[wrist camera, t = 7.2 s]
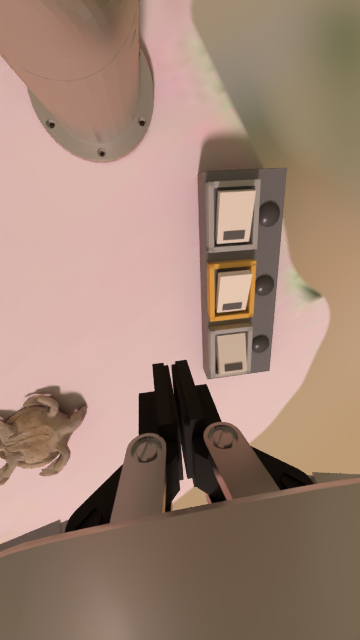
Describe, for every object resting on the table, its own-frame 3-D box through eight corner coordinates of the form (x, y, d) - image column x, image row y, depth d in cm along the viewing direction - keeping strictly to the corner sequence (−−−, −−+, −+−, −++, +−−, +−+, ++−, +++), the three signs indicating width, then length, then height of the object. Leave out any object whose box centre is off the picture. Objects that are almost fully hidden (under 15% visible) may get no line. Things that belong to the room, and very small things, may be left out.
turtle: (27, 441, 47) (21, 503, 40) (-30, 430, 40) (-50, 501, 33) (88, 391, 44) (93, 447, 37) (37, 371, 38) (32, 433, 31)
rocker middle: (218, 272, 32) (220, 277, 31) (249, 269, 32) (252, 274, 31) (214, 308, 35) (217, 313, 35) (242, 305, 36) (245, 310, 35)
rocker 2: (215, 334, 37) (217, 336, 36) (242, 331, 37) (245, 333, 36) (218, 372, 37) (220, 375, 36) (244, 368, 38) (247, 371, 37)
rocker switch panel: (197, 175, 32) (206, 169, 28) (274, 171, 33) (293, 165, 29) (203, 368, 42) (210, 385, 38) (261, 361, 44) (273, 376, 39)
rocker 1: (217, 190, 28) (220, 192, 28) (252, 189, 29) (256, 190, 28) (214, 241, 32) (217, 244, 31) (246, 238, 32) (249, 241, 31)
